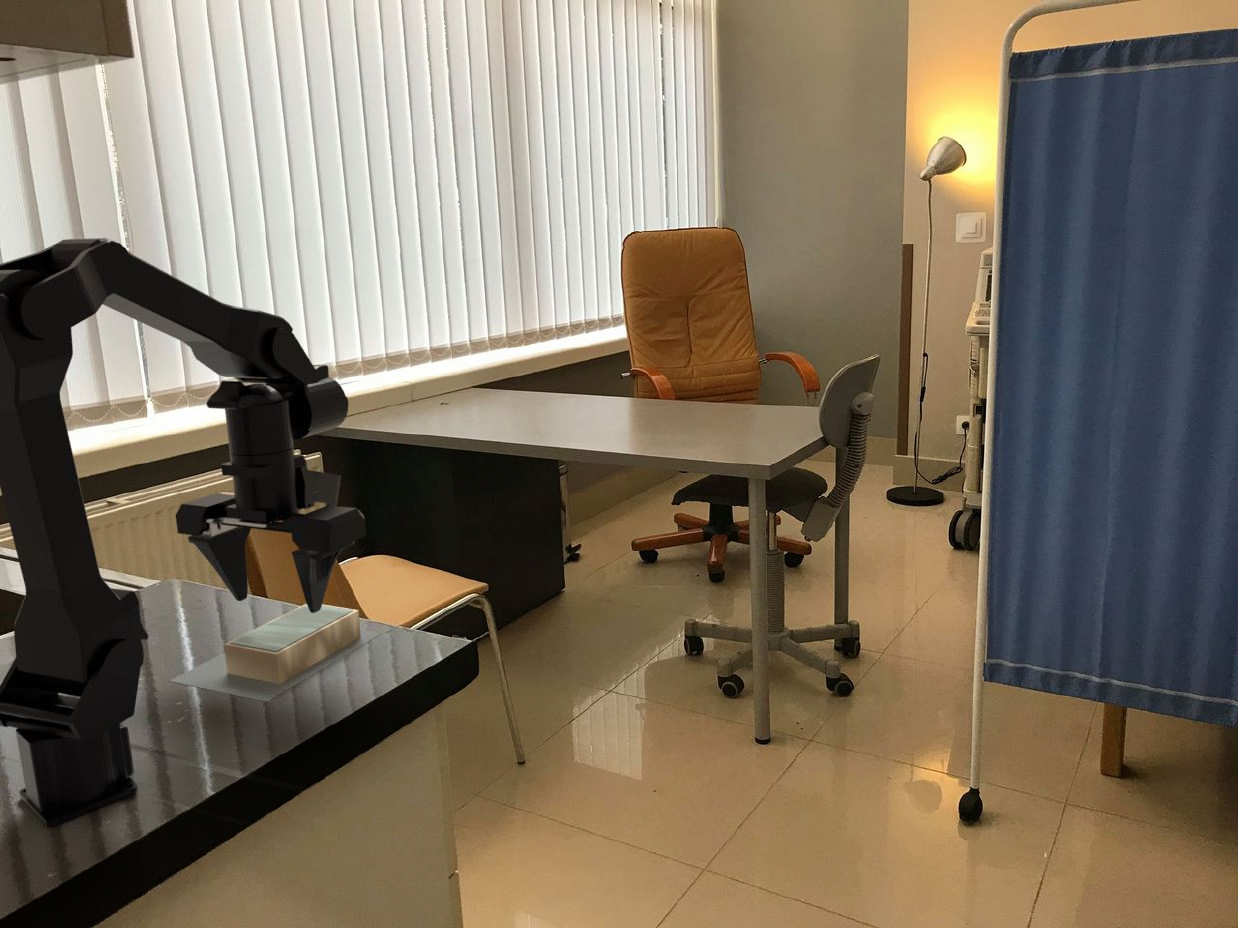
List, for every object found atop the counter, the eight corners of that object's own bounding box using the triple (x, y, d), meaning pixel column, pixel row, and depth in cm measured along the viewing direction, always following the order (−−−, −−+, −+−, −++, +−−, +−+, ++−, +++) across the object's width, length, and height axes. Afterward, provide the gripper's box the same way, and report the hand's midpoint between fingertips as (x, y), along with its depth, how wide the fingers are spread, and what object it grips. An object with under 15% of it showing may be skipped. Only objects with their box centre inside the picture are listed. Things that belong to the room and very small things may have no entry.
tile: (276, 653, 93) (358, 609, 104) (223, 643, 96) (309, 601, 107) (279, 683, 94) (360, 637, 105) (227, 673, 97) (311, 628, 107)
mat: (267, 705, 91) (266, 701, 90) (169, 684, 95) (169, 680, 95) (382, 636, 106) (382, 633, 106) (293, 621, 110) (292, 618, 110)
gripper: (395, 439, 98) (406, 590, 101) (248, 428, 105) (263, 569, 109) (318, 463, 88) (334, 629, 91) (162, 449, 95) (182, 604, 99)
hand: (278, 605), depth 98 cm, fingers open, 9 cm apart
